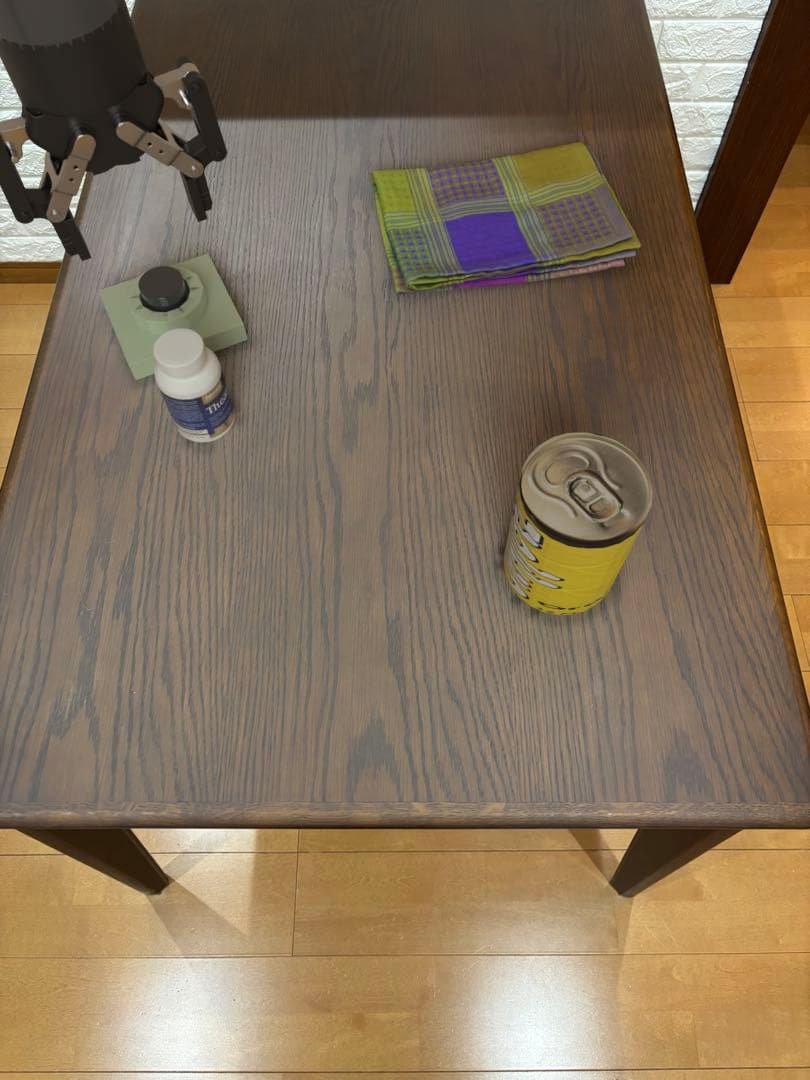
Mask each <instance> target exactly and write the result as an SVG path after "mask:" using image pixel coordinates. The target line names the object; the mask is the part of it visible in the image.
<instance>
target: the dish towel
mask: <svg viewBox="0 0 810 1080" xmlns="http://www.w3.org/2000/svg"><path fill="white" fill-rule="evenodd" d="M370 179H371V188H372V190H373V195H374V202H375V203H374V204H375V209H376V213H377V214H376V215H377V219H378V223H379V229H380V235H381V239H382V242H383V243H382V244H383V247H384V252H385V255H386V260H387V263H388V267H389V272H390V276H391V281H392V285H393V290H394V294H395V295H396V296H399V295H409V294H417V293H425V292H426V293H427V292H442V291H450V290H451V291H452V290H460V289H469V288H480V287H494V286H503V285H512V284H521V283H530V282H539V281H544V280H551V279H558V278H563V277H564V278H565V277H570V276H579V275H585V274H590V273H597V272H600V271H606V270H608V269H611V268H621V267H625V260H624V259H625V258H631V257H633V258H634V257H636V256H637V252H636V250H635V249H640V248H642V243H641V242H640V240H639V238H638V236H637V233H636V231H635V230H634V228H633V226H632V225H631V223H630V221H629V220H628V217H627V216H626V214H625V212H624V210H623V207H622V206H621V204H620V203H619V200H618V197H617V195H616V194H615V192H614V190H613V189H612V186H611V185H610V184H609V183H608V180H607V178H606V176H605V175H604V172H603V170H602V168H601V164H600V163H599V160H598V159H597V157H596V154H595V153H594V151H593V149H592V148H591V146H590V145H589V144H584V142H583V143H582V142H581V141H577V142H573V143H566V144H561V145H557V146H552V147H547V148H542V149H538V150H533V151H529V152H524V153H521V154H520V153H519V154H510V155H503V156H501V157H493V158H487V159H482V160H478V161H477V160H476V161H469V162H468V161H465V162H457V163H448V164H443V165H442V164H440V165H436V166H429V167H428V166H427V167H426V166H425V167H412V168H403V169H402V168H401V169H398V168H397V169H389V168H388V169H372V170H371V173H370Z"/></svg>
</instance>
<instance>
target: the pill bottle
mask: <svg viewBox="0 0 810 1080" xmlns="http://www.w3.org/2000/svg"><path fill="white" fill-rule="evenodd" d="M153 352H154V356H155V359H156V362H157V363H156V366H155V374H154V379H155V382H156V385H157V388H158V389H159V392H160V394H161V396H162V400H163V401H164V403H165V406H166V407H167V410H168V412H169V414H170V417H171V419H172V422H173V424H174V426H175V428H176V430H177V431H178V433H179V434H180V435H181V436H182V437H183V438H185V439H186V440H189V441H191V442H194V443H211V442H214V441H217V440H219V439H221V438H222V437H224V436H225V435H227V433H229V432H230V430H231V429H232V427H233V425H234V424H235V421H236V410H235V406H234V403H233V399H232V397H231V394H230V390H229V387H228V384H227V381H226V378H225V375H224V372H223V369H222V366H221V362H220V360H219V358H218V357H217V355H216V353H215V352H213V351H211V350H210V349H209V348H207V347H205V345H204V342H203V340H202V338H201V336H200V335H199V334H198V333H196V332H195V331H193V330H190V329H186V328H178V329H172V330H169V331H167V332H165V333H164V334H162V335H161V336H160V337H159V338H158V339H157V341H156V342H155V344H154V349H153Z"/></svg>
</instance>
